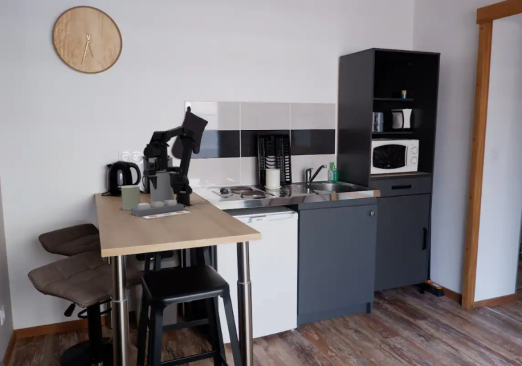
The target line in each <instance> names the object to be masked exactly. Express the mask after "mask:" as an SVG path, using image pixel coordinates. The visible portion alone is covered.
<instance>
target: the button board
mask: <svg viewBox="0 0 522 366" xmlns="http://www.w3.org/2000/svg"><path fill="white" fill-rule="evenodd" d="M178 211H185V206H184V205H183V204H179V203H177V205H171V206H167V205H165V204H164V206H163V207H156V208H155V207H151V204H150V208H148V209H138V207H134V208H131V210H130V215H133V216H136V217H138V218H143V217H144V216H150V215H157V214H164V213H171V212H178Z"/></svg>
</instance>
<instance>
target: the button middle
mask: <svg viewBox="0 0 522 366" xmlns="http://www.w3.org/2000/svg"><path fill="white" fill-rule="evenodd" d="M150 205H151V207H155V208H156V207H163V206H164V202H161V201H157V202H151V201H150Z"/></svg>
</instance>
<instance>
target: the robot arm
mask: <svg viewBox="0 0 522 366" xmlns="http://www.w3.org/2000/svg"><path fill="white" fill-rule="evenodd" d="M175 137H178V139H179V140H180V145H181V146H182V152H181V158H180V162H179V166H177V165H175V166H174V165H173V166H172V167H168V161H170V159H168V157H169V154H168V153H169V152H168V148H169V147H170V144H168V142H169V141H171V139H172V138H173V139H174V138H175ZM198 142H199V136H198V135H197V134H196V133H195V132H194V131H193V130H191V129H190V128H188V127H187V126H186V125H179V126H176V127H174V128H171V129H168V130H155V131H153V132H152V135H151V137H150V140H149V143H146V145H145V147H144V149H143V152H142V154H143V156H144V157H145V158H146V159H148V160H149V158H156V159H155V160H154V163H152V162H149V161H147V162H146V169H145V168H144V170H143V171H142V175H143V176H145V177H146V178H148V179H149V181H150V180H151V182H152V184H153V187H154V189H155V190H156V189H157V176H155V175H156V174H157V173H165V172H170V173H169V176H170V186H171V187H172V189H173V192H174V195H175V200H176V201H177V203H179V204H183V205H184V207H188V206H192V203H191V194H192V195H193V188H192V187H191V185H190V180H189V176H188V174H189V171H190V164H191V159H192V153H193V150H194V149H195V148H196V147H197V144H198Z"/></svg>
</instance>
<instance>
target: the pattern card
mask: <svg viewBox="0 0 522 366" xmlns="http://www.w3.org/2000/svg"><path fill="white" fill-rule="evenodd" d="M184 214H191V211H187V210H184V211H178V212H171V213H164V214H157V215H150V216H144V217H142V219H146V220H150V219H157V218H165V217H172V216H177V215H184Z"/></svg>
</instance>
